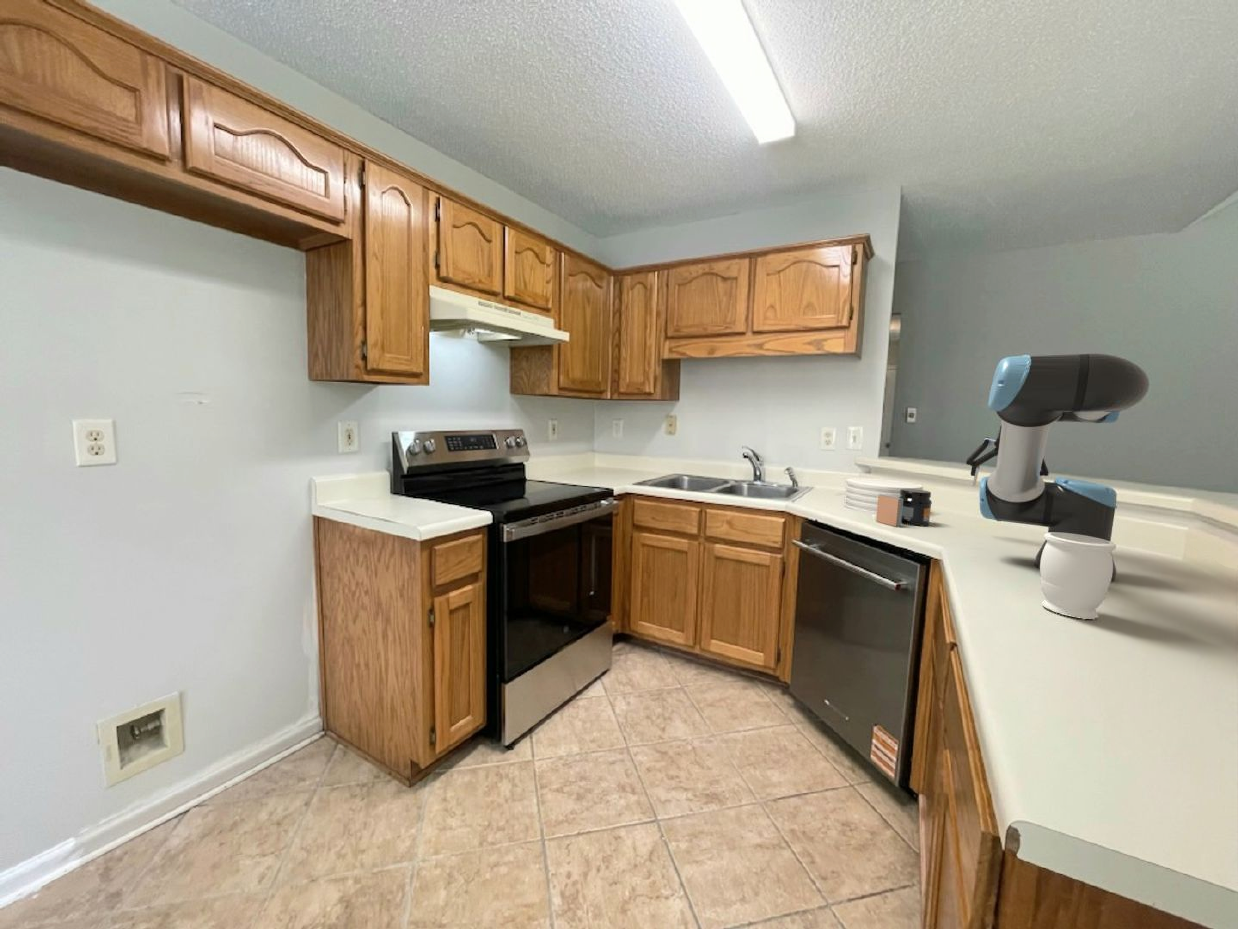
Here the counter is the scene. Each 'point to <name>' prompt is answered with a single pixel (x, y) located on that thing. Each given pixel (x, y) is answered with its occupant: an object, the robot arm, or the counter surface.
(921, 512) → the supplement container
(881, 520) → the tile
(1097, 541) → the jar
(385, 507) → the counter surface
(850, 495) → the plate stack
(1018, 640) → the counter surface
